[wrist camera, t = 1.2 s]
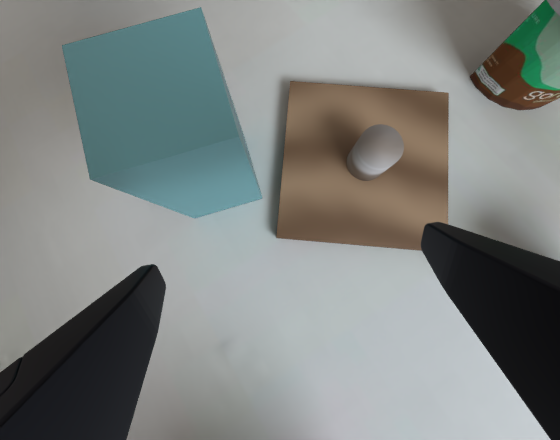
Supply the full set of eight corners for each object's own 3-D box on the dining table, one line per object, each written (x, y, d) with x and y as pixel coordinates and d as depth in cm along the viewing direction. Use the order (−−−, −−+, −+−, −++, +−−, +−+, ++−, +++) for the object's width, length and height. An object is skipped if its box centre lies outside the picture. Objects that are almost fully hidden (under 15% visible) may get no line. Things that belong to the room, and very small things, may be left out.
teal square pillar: (262, 198, 22) (239, 136, 10) (194, 218, 22) (90, 179, 10) (243, 134, 23) (201, 7, 11) (177, 153, 23) (61, 45, 11)
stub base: (440, 252, 21) (481, 252, 17) (276, 238, 22) (275, 234, 17) (441, 99, 23) (479, 63, 19) (289, 88, 23) (291, 49, 19)
